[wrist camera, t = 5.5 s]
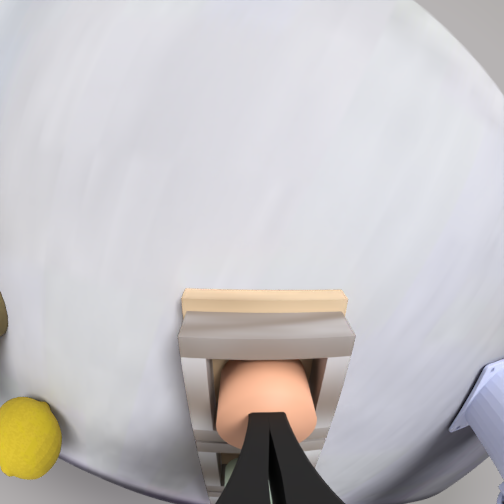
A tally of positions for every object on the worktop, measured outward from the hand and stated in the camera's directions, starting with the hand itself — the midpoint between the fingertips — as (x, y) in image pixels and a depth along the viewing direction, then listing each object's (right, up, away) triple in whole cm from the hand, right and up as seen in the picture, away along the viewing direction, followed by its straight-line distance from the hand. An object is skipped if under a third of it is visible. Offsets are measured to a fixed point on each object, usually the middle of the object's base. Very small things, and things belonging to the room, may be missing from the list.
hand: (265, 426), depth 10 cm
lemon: (-17, -5, +6) cm, 18 cm away
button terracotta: (0, +1, +3) cm, 3 cm away
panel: (0, -5, +6) cm, 8 cm away
